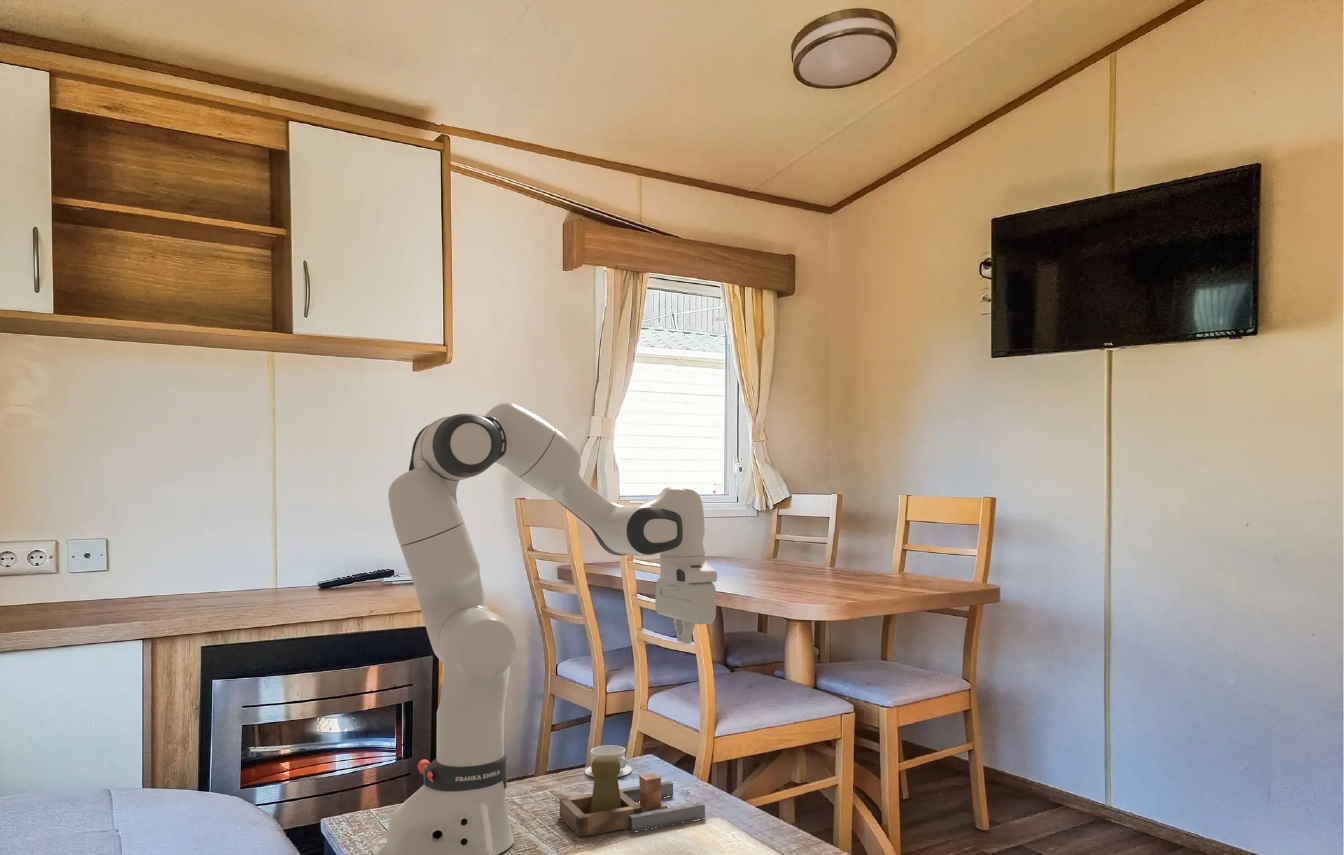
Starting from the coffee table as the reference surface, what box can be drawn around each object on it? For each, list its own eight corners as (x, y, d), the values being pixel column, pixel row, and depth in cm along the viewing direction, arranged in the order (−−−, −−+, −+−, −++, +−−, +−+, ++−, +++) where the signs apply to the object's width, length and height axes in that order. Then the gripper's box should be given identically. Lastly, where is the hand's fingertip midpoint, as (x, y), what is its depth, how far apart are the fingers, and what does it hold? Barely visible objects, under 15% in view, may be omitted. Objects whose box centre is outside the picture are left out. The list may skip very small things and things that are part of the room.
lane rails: (632, 833, 147) (632, 817, 147) (601, 806, 161) (601, 792, 161) (705, 819, 153) (704, 804, 153) (669, 794, 167) (669, 781, 167)
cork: (626, 815, 156) (625, 752, 157) (619, 827, 150) (618, 762, 151) (593, 814, 157) (593, 751, 158) (585, 826, 151) (585, 761, 152)
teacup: (574, 774, 181) (574, 751, 181) (607, 763, 188) (607, 741, 189) (609, 783, 174) (608, 759, 175) (641, 771, 182) (641, 748, 183)
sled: (579, 837, 145) (578, 799, 146) (559, 816, 155) (559, 780, 156) (675, 819, 153) (675, 783, 153) (651, 800, 163) (650, 766, 163)
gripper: (647, 568, 176) (648, 637, 175) (691, 574, 158) (692, 651, 156) (675, 567, 179) (676, 634, 178) (721, 573, 160) (723, 648, 159)
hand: (684, 642), depth 167 cm, fingers closed
